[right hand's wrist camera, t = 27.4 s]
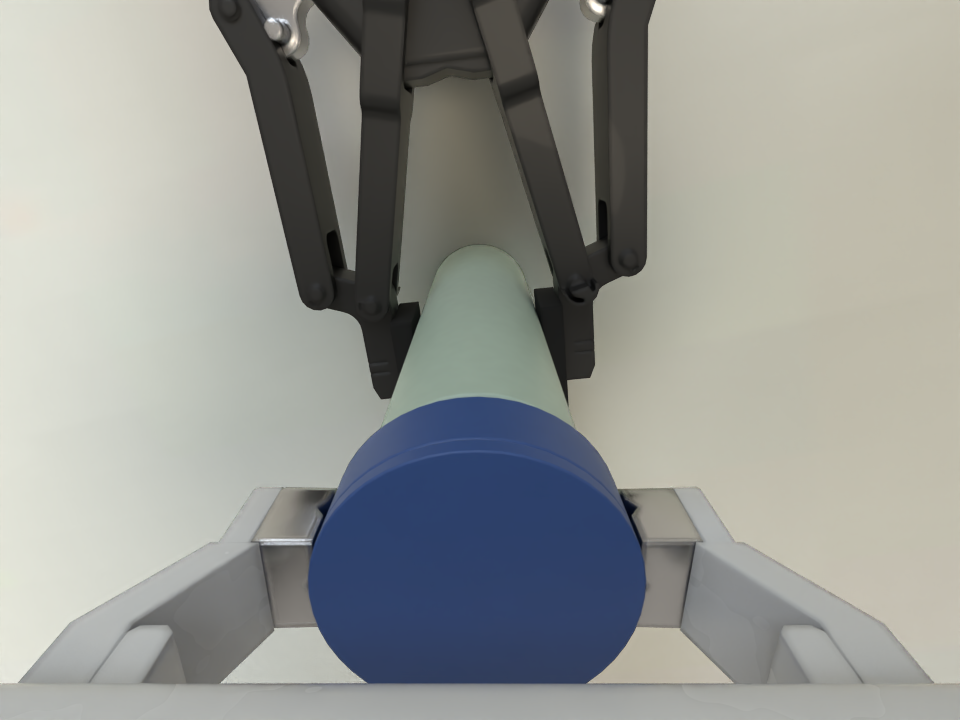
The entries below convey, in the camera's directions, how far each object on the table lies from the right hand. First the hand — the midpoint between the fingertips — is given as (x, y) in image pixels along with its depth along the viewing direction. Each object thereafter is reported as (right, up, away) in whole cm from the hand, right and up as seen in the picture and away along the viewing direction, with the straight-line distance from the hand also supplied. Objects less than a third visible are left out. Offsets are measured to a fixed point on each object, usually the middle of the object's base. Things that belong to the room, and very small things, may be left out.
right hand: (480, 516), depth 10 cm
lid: (0, -1, -2) cm, 2 cm away
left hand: (+1, -1, +12) cm, 12 cm away
